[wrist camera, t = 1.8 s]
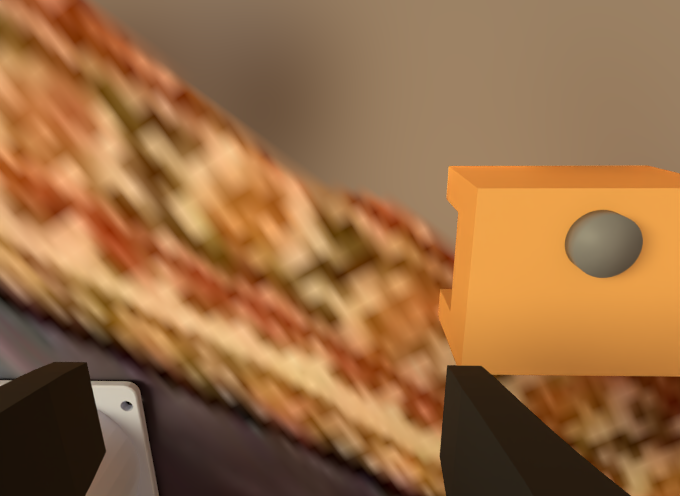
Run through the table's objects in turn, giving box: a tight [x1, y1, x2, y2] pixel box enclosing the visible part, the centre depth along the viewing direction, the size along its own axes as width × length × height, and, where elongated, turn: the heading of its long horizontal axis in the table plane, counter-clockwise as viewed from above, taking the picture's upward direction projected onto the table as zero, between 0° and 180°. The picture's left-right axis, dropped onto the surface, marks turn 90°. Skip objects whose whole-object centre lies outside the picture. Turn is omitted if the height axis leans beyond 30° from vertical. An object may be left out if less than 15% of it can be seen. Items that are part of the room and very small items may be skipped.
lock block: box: [438, 165, 680, 376], centre depth 15 cm, size 6×7×5 cm
